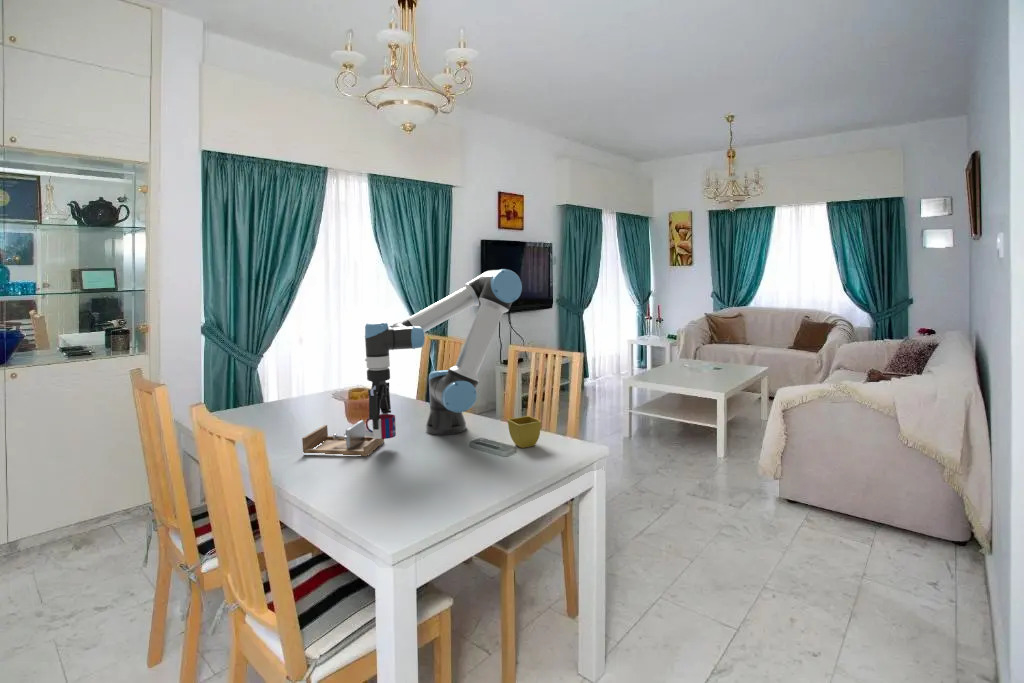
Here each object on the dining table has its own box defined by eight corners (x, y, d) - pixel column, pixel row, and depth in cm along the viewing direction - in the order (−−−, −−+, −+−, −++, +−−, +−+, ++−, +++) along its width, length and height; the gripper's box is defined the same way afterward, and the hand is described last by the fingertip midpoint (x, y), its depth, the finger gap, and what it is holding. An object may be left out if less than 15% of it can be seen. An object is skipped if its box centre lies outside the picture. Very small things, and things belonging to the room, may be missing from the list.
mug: (391, 439, 180) (390, 419, 179) (363, 438, 182) (362, 418, 181) (398, 433, 186) (398, 414, 186) (371, 432, 188) (370, 413, 187)
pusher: (364, 440, 192) (363, 420, 191) (350, 451, 179) (349, 430, 179) (342, 439, 193) (341, 420, 192) (326, 450, 180) (325, 429, 180)
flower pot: (519, 451, 180) (518, 424, 179) (507, 444, 187) (506, 419, 186) (542, 446, 184) (541, 421, 183) (529, 440, 191) (529, 415, 190)
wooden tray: (384, 442, 193) (383, 425, 192) (366, 456, 177) (365, 439, 176) (325, 441, 195) (324, 425, 195) (303, 455, 180) (302, 438, 179)
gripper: (378, 363, 191) (380, 427, 194) (355, 373, 172) (359, 443, 175) (398, 363, 191) (401, 427, 193) (378, 373, 171) (381, 444, 174)
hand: (381, 434), depth 184 cm, fingers closed on mug, 7 cm apart
